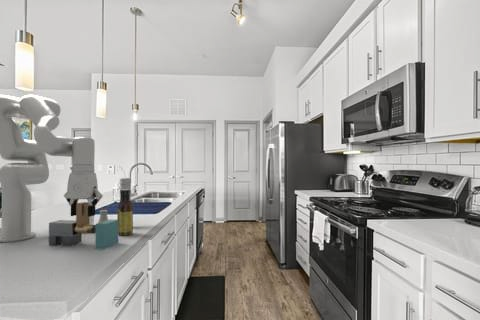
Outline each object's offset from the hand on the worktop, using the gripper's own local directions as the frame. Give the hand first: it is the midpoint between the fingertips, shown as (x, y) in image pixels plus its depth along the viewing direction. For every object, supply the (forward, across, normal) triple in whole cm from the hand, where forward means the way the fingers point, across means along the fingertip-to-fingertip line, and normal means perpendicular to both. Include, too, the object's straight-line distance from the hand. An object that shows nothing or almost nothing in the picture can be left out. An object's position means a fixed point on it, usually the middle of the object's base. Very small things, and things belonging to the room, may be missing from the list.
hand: (83, 215), depth 102 cm
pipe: (+11, 0, +28) cm, 30 cm away
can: (+11, -14, +19) cm, 26 cm away
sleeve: (+11, -8, 0) cm, 13 cm away
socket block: (+11, +10, 0) cm, 15 cm away
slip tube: (+7, -3, 0) cm, 7 cm away
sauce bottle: (+11, +8, +16) cm, 21 cm away
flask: (+11, -4, +18) cm, 22 cm away
